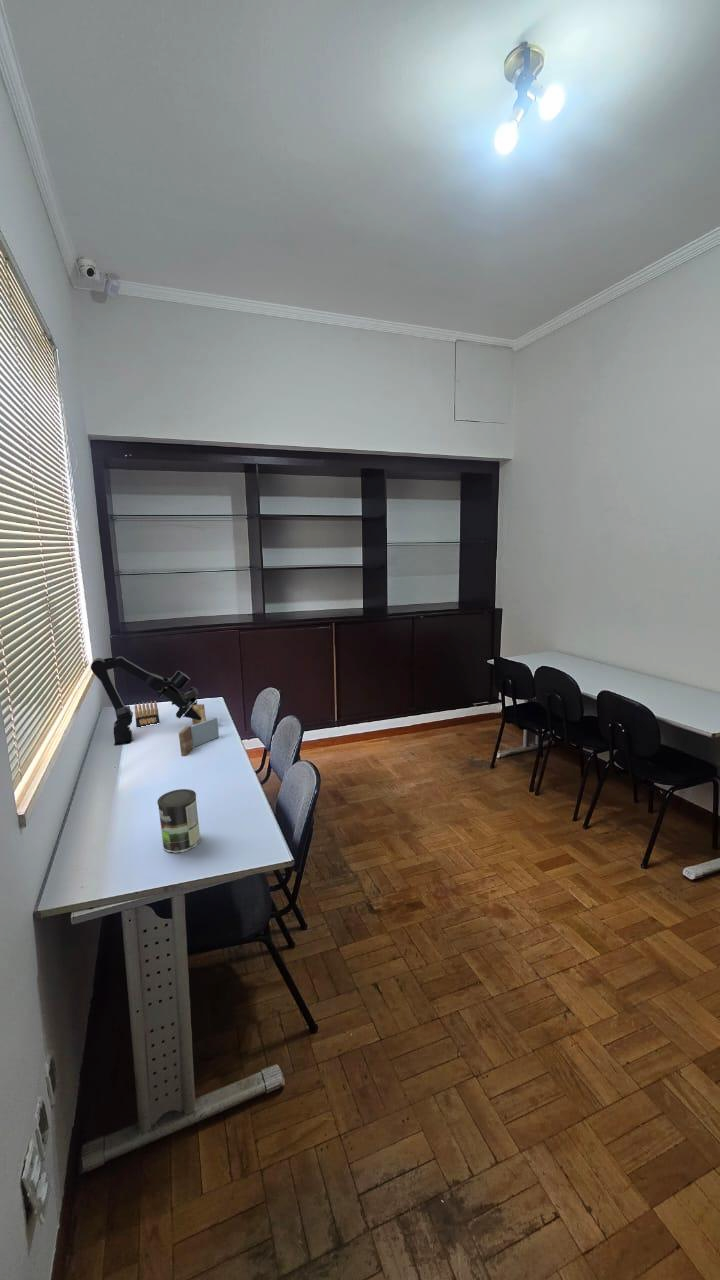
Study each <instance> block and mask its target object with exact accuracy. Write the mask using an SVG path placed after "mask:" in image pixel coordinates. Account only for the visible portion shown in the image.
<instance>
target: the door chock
mask: <svg viewBox="0 0 720 1280" xmlns="http://www.w3.org/2000/svg"><path fill="white" fill-rule="evenodd" d="M193 710H194V711H195V712H196V713H197V714H198V715H199V716H200V717H201V720H197V719H193V718H191V719H192V721H191V722H192V725H195V724H198V723H201V722H204V721H207V719H206V709H205V703H203V704H202V703H201V704H199V703H198V704H197V705H193Z"/></svg>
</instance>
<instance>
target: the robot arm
mask: <svg viewBox="0 0 720 1280" xmlns="http://www.w3.org/2000/svg"><path fill="white" fill-rule="evenodd" d="M115 668H121V669H123V670H124V671H126V672H128V673H129V674H132V675H133V676H135V677H136V678H139V679H140V680H142V681H143V682H144V683H145V684H147V685H148V687H150V688H151V689H152V690H153V691H156V692H157V695H158V696H157V697H158V698H161V697H162V696H163V697H165V699H167V700H169V701H170V702H171V705H172V706H174V705H175V706H176V707H177V708H179V709H178V711H177V712H176V713H175V716H176V717H177V718H178V719H179V720H180V719H181V718H189V719H192V718H193V719H197V720H201V717H200V716H199V715H198V714H197V713H196V712H195V711H194V710H193V705H198V699H199V691H198V690H199V689H198V688H197V687H194V686H191V687H190V688H188V691H187V692H185V691H182V692H181V691H179V689H183V688H184V687H185V686H186V685H187V684H188V683H189V681H190V680H191V678H190V677H189V676H188V675H187V674H185V673H184V672H182V671H180V670H177V671H175V673H174V674H173V675H172V677H171V678H170V677H162V676H161V675H158V674H155V673H153V672H152V673H151V672H149V671H147V670H145V669H144V668H142V667H140V666H139V665H137V664H135V663H133V662H131V661H130V660H128V659H126V658H125V657H124V656H117V657H116V656H115V657H107V658H102V657H96V658H95V659H93V661H92V662H91V664H90V670H91V671H92V673H93V674H94V675H95V677H96V678H97V679H98V680H99V681H100V682H101V684H102V687H103V688H104V691H105V692H106V694H107V696H108V699H109V701H110V702H111V705H112V706H113V708H114V711H115V712H114V713H115V716H116V721H114V724H113V732H112V733H113V738H114V744H113V745H114V746H118V745H127V744H128V745H129V744H131V742H132V740H133V731H132V729H131V727H130V726H131V724H132V722H133V717H134V712H133V711H132V709H131V707H130V705H128V706H126V705H125V704H124V702H123V700H122V698H121V696H120V694H119V693H118V689H117V688H116V685H115V684H114V682H113V680H112V678H111V675H110V671H109V670H113V669H115Z"/></svg>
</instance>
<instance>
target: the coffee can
mask: <svg viewBox="0 0 720 1280" xmlns="http://www.w3.org/2000/svg"><path fill="white" fill-rule="evenodd" d="M197 804H198V803H197V793H196V792H195V791H194V790H192V789H188V788H180V789H176V790H175V789H173V790H171V791H168V792H166V793H164V794H162V795H161V796H159V798H158V799H157V805H158V813H159V820H160V822H159V823H160V830H161V838H162V848H164V849H163V851H165V850H166V851H165V852H167V851H168V852H167V853H169V852H173V853H172V854H179V853H178V852H181V853H185V852H188V851H190V850H189V849H191V848H192V849H194V848H196V847H197V846H198V845H199V844H200V842H201V832H200V826H199V825H200V823H199V817H198V807H197V806H198V805H197ZM198 843H199V844H198ZM197 844H198V845H197ZM196 845H197V846H196ZM195 846H196V847H195ZM193 847H194V848H193ZM192 849H191V850H192ZM187 850H188V851H187ZM184 851H185V852H184Z"/></svg>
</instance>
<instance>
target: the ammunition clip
mask: <svg viewBox="0 0 720 1280" xmlns="http://www.w3.org/2000/svg"><path fill="white" fill-rule="evenodd" d="M134 717H135V718H134V719H135V726H136V727H140V728H142V727H141V726H146V725H150V724H157V723H160V715H159V709H158V703H157V701H156V700H154V703H153V701H152V700H151V701H149V702H148V701H146V704H145V702H142V704H141V703H140V702H139V703H138V705H137V703H134ZM160 724H161V723H160ZM146 727H147V726H146Z"/></svg>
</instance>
